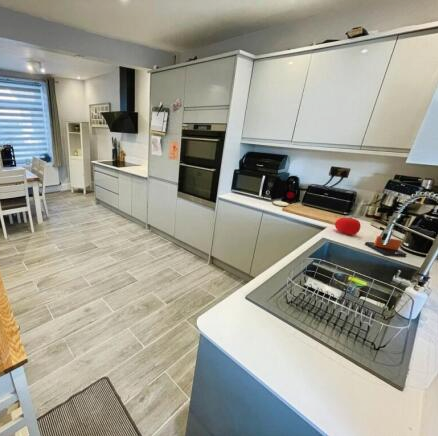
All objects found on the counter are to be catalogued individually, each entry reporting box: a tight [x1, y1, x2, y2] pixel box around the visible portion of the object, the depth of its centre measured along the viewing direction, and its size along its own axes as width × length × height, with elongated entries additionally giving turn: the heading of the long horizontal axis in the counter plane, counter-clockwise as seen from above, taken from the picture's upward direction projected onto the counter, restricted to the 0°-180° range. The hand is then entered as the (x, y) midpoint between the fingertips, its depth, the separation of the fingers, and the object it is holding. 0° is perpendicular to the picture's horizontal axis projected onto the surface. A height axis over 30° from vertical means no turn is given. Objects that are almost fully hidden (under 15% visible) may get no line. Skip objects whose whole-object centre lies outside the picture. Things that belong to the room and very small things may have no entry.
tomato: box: [334, 216, 361, 236], centre depth 166 cm, size 12×14×11 cm
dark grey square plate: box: [364, 241, 408, 258], centre depth 144 cm, size 15×15×2 cm
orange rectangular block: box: [374, 235, 403, 250], centre depth 142 cm, size 11×2×6 cm, turn 68°
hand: (403, 228), depth 142 cm, fingers closed
